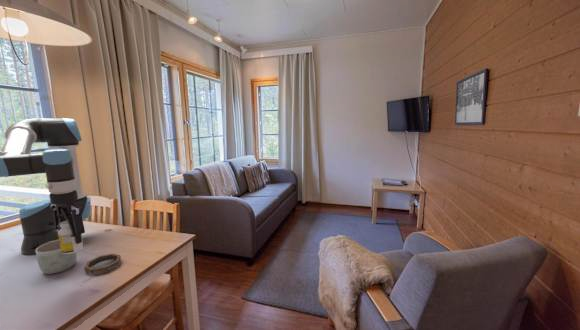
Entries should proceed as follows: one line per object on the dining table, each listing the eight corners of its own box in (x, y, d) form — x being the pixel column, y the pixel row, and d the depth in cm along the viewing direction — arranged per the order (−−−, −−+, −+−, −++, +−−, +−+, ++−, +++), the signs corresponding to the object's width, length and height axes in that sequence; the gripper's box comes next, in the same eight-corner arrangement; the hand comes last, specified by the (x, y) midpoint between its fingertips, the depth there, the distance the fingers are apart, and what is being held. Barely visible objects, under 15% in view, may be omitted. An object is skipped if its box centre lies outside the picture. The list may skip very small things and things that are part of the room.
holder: (78, 271, 104) (77, 266, 103) (108, 257, 115) (107, 251, 115) (98, 277, 100) (97, 272, 99) (127, 261, 111) (126, 256, 111)
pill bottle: (70, 246, 97) (66, 218, 95) (87, 245, 98) (83, 218, 96) (56, 255, 91) (51, 225, 89) (74, 254, 91) (69, 225, 89)
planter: (45, 280, 98) (40, 255, 96) (35, 271, 105) (31, 247, 103) (83, 265, 108) (79, 242, 107) (72, 257, 115) (69, 235, 113)
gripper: (34, 191, 90) (45, 249, 94) (67, 197, 83) (77, 259, 87) (59, 186, 97) (68, 240, 101) (91, 191, 90) (100, 248, 94)
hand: (72, 248), depth 94 cm, fingers closed on pill bottle, 6 cm apart
